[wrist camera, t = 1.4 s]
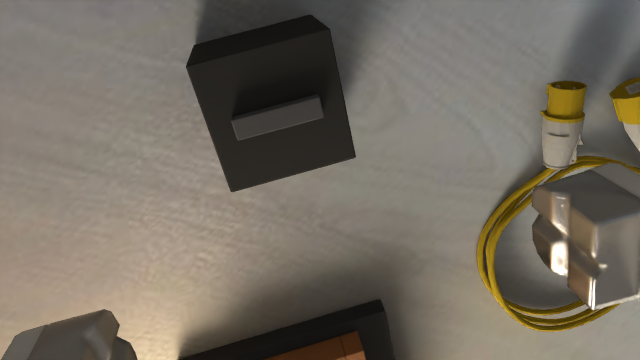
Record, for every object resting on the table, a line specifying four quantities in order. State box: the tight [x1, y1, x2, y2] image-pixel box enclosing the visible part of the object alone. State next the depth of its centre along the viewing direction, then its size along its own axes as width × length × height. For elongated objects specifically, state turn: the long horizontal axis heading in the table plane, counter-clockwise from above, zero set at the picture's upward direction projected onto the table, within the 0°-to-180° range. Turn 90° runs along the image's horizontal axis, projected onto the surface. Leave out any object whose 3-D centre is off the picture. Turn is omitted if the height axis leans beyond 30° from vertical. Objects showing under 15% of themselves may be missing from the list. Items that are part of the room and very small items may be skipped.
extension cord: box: [477, 77, 640, 332], centre depth 26 cm, size 12×16×2 cm
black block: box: [186, 15, 356, 192], centre depth 18 cm, size 5×5×4 cm
